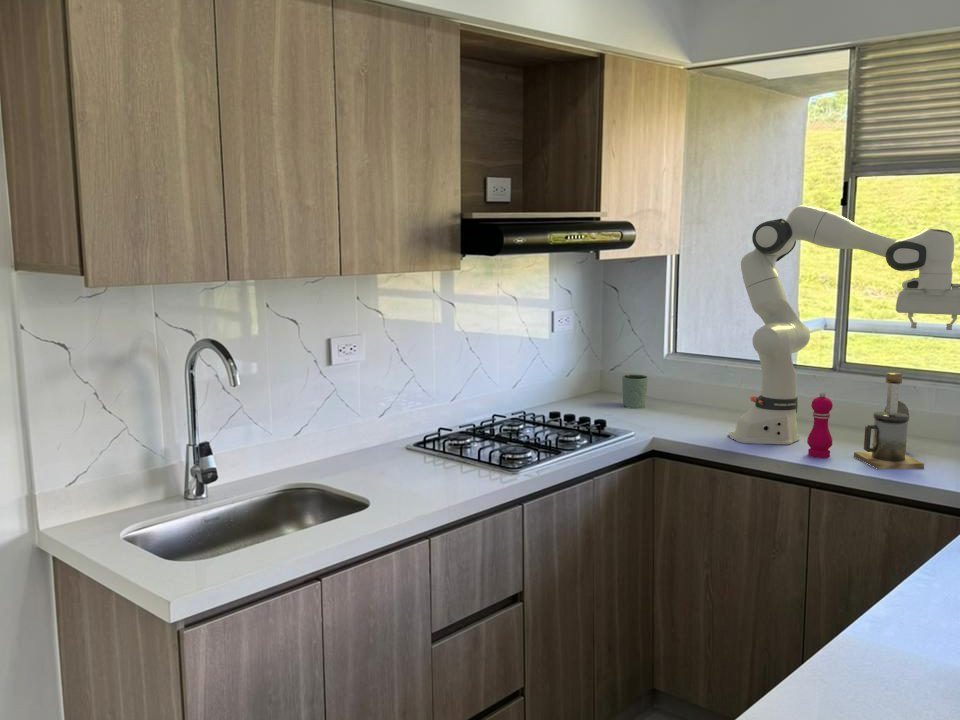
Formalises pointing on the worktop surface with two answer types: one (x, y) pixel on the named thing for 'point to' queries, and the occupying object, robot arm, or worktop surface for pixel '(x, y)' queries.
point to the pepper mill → (820, 428)
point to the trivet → (889, 462)
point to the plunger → (893, 392)
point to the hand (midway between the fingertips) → (931, 329)
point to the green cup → (634, 390)
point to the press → (887, 436)
